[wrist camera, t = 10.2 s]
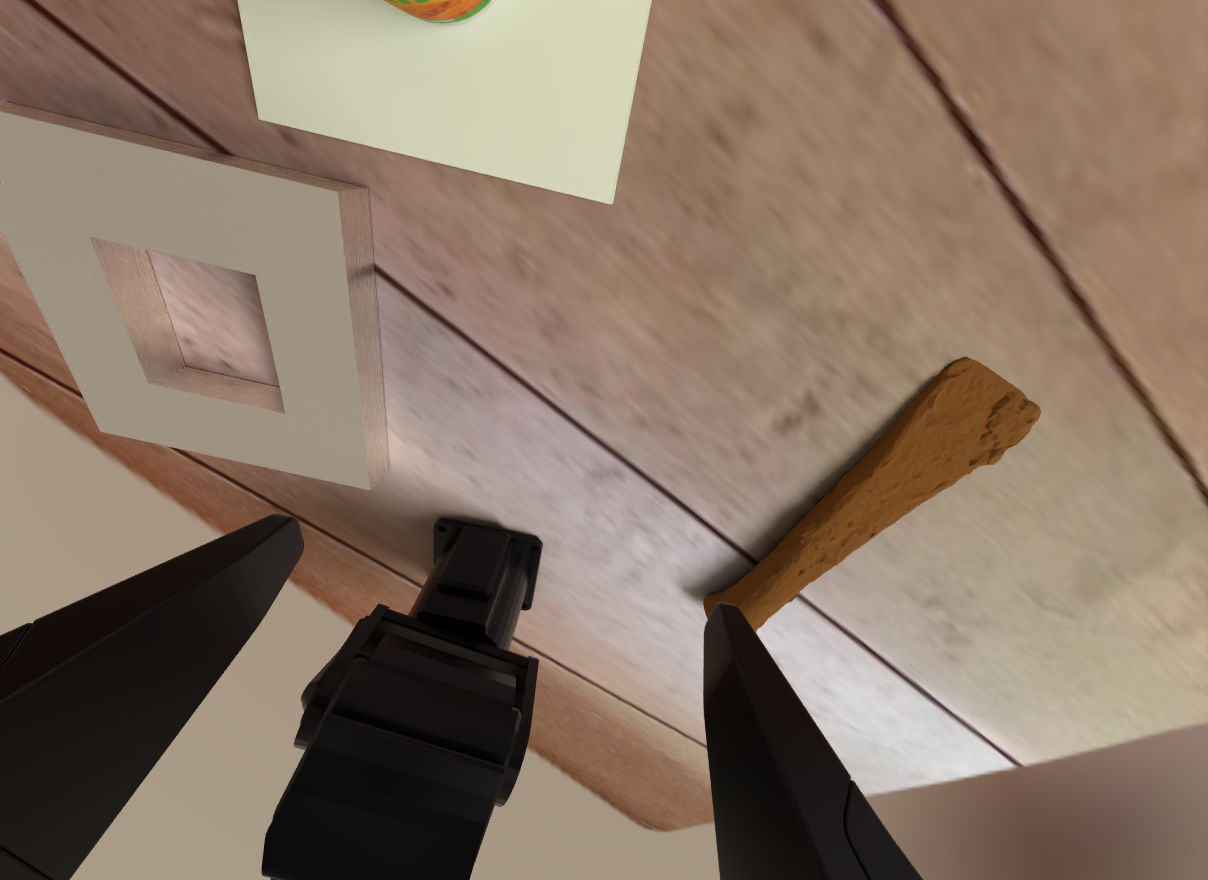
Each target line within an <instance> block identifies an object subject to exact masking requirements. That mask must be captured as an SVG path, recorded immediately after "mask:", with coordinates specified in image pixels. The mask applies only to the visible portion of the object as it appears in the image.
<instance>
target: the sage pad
mask: <svg viewBox="0 0 1208 880" xmlns="http://www.w3.org/2000/svg"><path fill="white" fill-rule="evenodd" d="M651 2H652V0H497V1H496V2H495V3H494V4H493V5H492V6H491V7H490V8H489V9H488V10H487V11H486V12H485V13H483V14H482V15H480V16H479V17H477V18H475V19H473V20H471V21H468V22H465V23H462V24H457V25H438V24H432V23H428V22H426V21H423V20H420V19H418V18H416V17H414V16H411V15H409V14H407V13H406V12H404V11H402V10H400V9H398V8H396V7H395V6H393V5H391V4H389V3H387V2H385V1H384V0H238V6H239V11H240V17H241V23H242V28H243V34H244V39H245V45H246V50H247V56H248V61H249V67H250V72H251V78H252V83H253V89H254V95H255V100H256V106H257V111H258V117H259V120H264V121H268V122H272V123H276V124H280V125H284V126H288V127H293V128H297V129H301V130H305V131H309V132H313V133H317V134H322V135H326V136H330V137H334V138H338V139H342V140H346V141H350V142H355V143H359V144H363V145H367V146H371V147H375V148H379V149H384V150H388V151H392V152H396V153H400V154H404V155H408V156H413V157H417V158H421V159H425V160H429V161H433V162H437V163H442V164H446V165H450V166H454V167H458V168H462V169H466V170H470V171H475V172H479V173H483V174H487V175H491V176H495V177H499V178H504V179H508V180H512V181H516V182H520V183H524V184H528V185H533V186H537V187H541V188H545V189H549V190H553V191H557V192H562V193H566V194H570V195H574V196H578V197H582V198H586V199H590V200H595V201H599V202H603V203H607V204H611V205H612V204H613V200H614V195H615V190H616V184H617V179H618V174H619V169H620V164H621V158H622V153H623V148H624V143H625V137H626V132H627V127H628V122H629V117H630V111H631V106H632V101H633V96H634V91H635V85H636V80H637V75H638V70H639V64H640V59H641V54H642V49H643V44H644V38H645V33H646V28H647V23H648V17H649V12H650V7H651Z"/></svg>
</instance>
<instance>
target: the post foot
mask: <svg viewBox="0 0 1208 880" xmlns="http://www.w3.org/2000/svg"><path fill="white" fill-rule="evenodd" d="M0 230H1V232H2V234H3V236H4V238H5V240H6V242H7V244H8V246H9V248H10V250H11V252H12V254H13V256H14V258H15V260H16V262H17V264H18V266H19V268H20V270H21V272H22V274H23V276H24V278H25V280H26V283H27V285H28V287H29V289H30V291H31V293H32V295H33V297H34V299H35V301H36V303H37V305H38V307H39V309H40V311H41V313H42V315H43V317H44V319H45V321H46V323H47V325H48V327H49V329H50V331H51V333H52V335H53V337H54V339H55V341H56V343H57V345H58V347H59V349H60V351H61V353H62V355H63V357H64V359H65V361H66V363H67V365H68V367H69V369H70V371H71V373H72V375H73V377H74V379H75V381H76V383H77V385H78V387H79V389H80V391H81V393H82V395H83V397H84V399H85V401H86V404H87V406H88V408H89V410H90V412H91V414H92V416H93V418H94V420H95V422H96V424H97V426H98V428H99V430H100V432H105V433H109V434H114V435H118V436H123V437H128V438H132V439H137V440H141V441H146V442H151V443H155V444H160V445H164V446H169V447H173V448H178V449H183V450H187V451H192V452H196V453H201V454H205V455H210V456H215V457H219V458H224V459H228V460H233V461H238V462H242V463H247V464H251V465H256V466H260V467H265V468H270V469H274V470H279V471H283V472H288V473H292V474H297V475H302V476H306V477H311V478H315V479H320V480H324V481H329V482H334V483H338V484H343V485H347V486H352V487H357V488H361V489H366V490H371V489H372V488H373V487H374V486H375V484H376V483H377V482H378V481H379V480H380V479H381V477H382V476H383V475H384V474H385V473H386V471H387V470H388V469H389V457H388V444H387V431H386V417H385V404H384V391H383V378H382V365H381V352H380V339H379V325H378V312H377V299H376V286H375V273H374V260H373V247H372V233H371V220H370V207H369V194H368V188H365V187H361V186H357V185H353V184H348V183H344V182H340V181H336V180H332V179H328V178H323V177H319V176H315V175H311V174H307V173H302V172H298V171H294V170H290V169H286V168H281V167H277V166H273V165H269V164H265V163H261V162H256V161H252V160H248V159H244V158H240V157H235V156H231V155H227V154H223V153H219V152H214V151H210V150H206V149H202V148H198V147H194V146H189V145H185V144H181V143H177V142H173V141H168V140H164V139H160V138H156V137H152V136H147V135H143V134H139V133H135V132H131V131H127V130H122V129H118V128H114V127H110V126H106V125H101V124H97V123H93V122H89V121H85V120H80V119H76V118H72V117H68V116H64V115H60V114H55V113H51V112H47V111H43V110H39V109H34V108H30V107H26V106H22V105H18V104H13V103H9V102H5V101H0ZM146 250H149V251H154V252H158V253H162V254H167V255H171V256H175V257H180V258H184V259H188V260H193V261H197V262H201V263H206V264H210V265H214V266H219V267H223V268H227V269H232V270H236V271H240V272H245V273H249V274H253V275H255V276H256V280H257V285H258V290H259V294H260V299H261V303H262V308H263V312H264V317H265V322H266V326H267V331H268V335H269V340H270V345H271V349H272V354H273V358H274V363H275V367H276V372H277V377H278V381H279V386H280V388H279V387H275V386H271V385H266V384H262V383H257V382H253V381H248V380H244V379H239V378H235V377H230V376H226V375H221V374H217V373H212V372H208V371H204V370H199V369H195V368H190V367H186V366H185V364H184V361H183V358H182V355H181V352H180V349H179V346H178V343H177V340H176V337H175V334H174V331H173V328H172V325H171V322H170V319H169V316H168V313H167V310H166V308H165V305H164V302H163V299H162V296H161V293H160V290H159V287H158V284H157V281H156V278H155V275H154V272H153V269H152V266H151V263H150V260H149V257H148V254H147V251H146Z"/></svg>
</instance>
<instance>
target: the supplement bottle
mask: <svg viewBox="0 0 1208 880" xmlns="http://www.w3.org/2000/svg"><path fill="white" fill-rule="evenodd" d="M384 1H385V2H387V3H389V4H391V5H393V6H395V7H396V8H398V9H400V10H402V11H404V12H406V13H407V14H409V15H411V16H414V17H416V18H418V19H420V20H423V21H426V22H428V23H432V24H438V25H457V24H462V23H465V22H468V21H471V20H473V19H475V18H477V17H479V16H480V15H482V14H483V13H485V12H486V11H487V10H488V9H489V8H490V7H491V6H492V5H493V4H494V3H495V2H496V1H497V0H384Z"/></svg>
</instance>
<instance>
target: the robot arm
mask: <svg viewBox="0 0 1208 880" xmlns="http://www.w3.org/2000/svg"><path fill="white" fill-rule="evenodd" d="M442 526H444V527H442ZM533 546H535V547H533ZM542 548H543V543H542V542H541V541H540V540H539V539H537V538H533V537H528V536H524V535H519V534H515V533H510V532H505V531H501V530H496V529H492V528H487V527H482V526H478V525H473V524H469V523H464V522H459V521H455V520H450V519H446V518H440V519H438V520H437V521H436V523H435V525H434V568H433V569H432V571H431V573H430V575H429V577H428V579H427V581H426V583H425V584H424V586H423V588H422V590H421V592H420V594H419V596H418V598H417V599H416V601H415V603H414V605H413V607H412V609H411V611H410V612H409V614H408V615H405V614H402V613H399V612H396V611H393V610H391V609H389V607H388V606H385V605H382V604H378V605H377V606H376V608H375V609H374V611H373V612H372V613H371V615H370V616H366V617H365V618H363V619H360V620H359V621H358V623H357V625H356V626H355V628H354V629H353V631H352V632H351V634H350V636H349V637H348V639H347V640H346V642H345V643H344V645H343V646H342V647H341V649H340V650H339V651H338V652H337V654H336V655H335V656H334V657H333V658H332V659H331V660H330V661H329V662H328V663H327V664H326V665H325V667H324V668H323V669H322V670H321V671H320V672H319V673H318V674H317V675H316V676H315V677H314V679H313V680H312V681H311V682H310V683H309V684H308V685H307V687H306V688H305V690H304V692H303V694H302V696H301V702H302V706H303V710H304V714H303V716H302V719H301V722H300V727H299V730H298V732H297V735H296V738H295V742H294V747H296V748H300V749H303V750H305V752H304V754H303V757H302V758H301V760H300V762H299V764H298V767H297V768H296V770H295V772H294V774H293V776H292V778H291V780H290V782H289V784H288V786H287V788H286V790H285V792H284V794H283V796H282V798H281V799H280V801H279V804H278V805H277V808H276V810H275V812H274V815H273V820H272V823H271V825H270V826H269V828H268V830H267V833H266V836H265V844H264V852H263V860H262V875H263V876H266V877H270V878H271V880H470V876H471V873H472V869H473V866H474V863H475V861H476V858H477V855H478V852H479V849H480V846H481V843H482V840H483V837H484V834H485V832H486V829H487V826H488V823H489V820H490V817H491V814H492V811H493V808H494V805H495V806H499V807H502V806H503V805H504V804H505V803H506V801H507V800H508V798H509V796H510V794H511V792H512V790H513V787H514V785H515V783H516V780H517V777H518V774H519V772H520V769H521V766H522V762H523V759H524V755H525V752H526V748H527V744H528V740H529V735H530V729H531V722H532V713H533V705H534V697H535V688H536V680H537V672H538V663H539V659H537V658H534V657H531V656H529V657H526V656H523V655H520V654H517V653H514V652H511V651H509V648H510V644H511V641H512V638H513V634H514V631H515V627H516V624H517V621H518V617H519V614H520V610H525V611H526V610H529V609H530V608H531V606H532V602H533V596H534V591H535V586H536V580H537V575H538V569H539V564H540V558H541V553H542ZM303 550H304V541H303V537H302V533H301V529H300V525H299V521H298V519H297V518H296V517H293V516H289V515H284V514H272V515H269V516H267V517H265V518H262V519H260V520H258V521H256V522H254V523H251V524H249V525H247V526H245V527H242V528H240V529H238V530H236V531H233V532H231V533H229V534H227V535H224V536H222V537H220V538H218V539H215V540H213V541H211V542H209V543H206V544H204V545H202V546H200V547H198V548H195V549H193V550H191V551H189V552H186V553H184V554H182V555H180V556H177V557H175V558H173V559H171V560H168V561H166V562H164V563H162V564H159V565H157V566H155V567H153V568H150V569H148V570H146V571H144V572H142V573H139V574H137V575H135V576H133V577H131V578H128V579H126V580H124V581H121V582H119V583H117V584H115V585H112V586H110V587H108V588H106V589H103V590H101V591H99V592H97V593H94V594H92V595H90V596H88V597H86V598H83V599H81V600H79V601H77V602H74V603H72V604H70V605H68V606H66V607H63V608H61V609H59V610H56V611H54V612H52V613H50V614H47V615H45V616H43V617H41V618H38V619H36V620H35V621H34V622H33V623H27V624H25V625H22V626H20V627H18V628H16V629H14V630H11V631H9V632H7V633H5V634H3V635H0V880H70V878H71V877H72V876H73V874H74V873H75V872H76V870H77V869H78V868H79V866H80V865H81V864H82V862H83V861H84V860H85V858H86V857H87V856H88V854H89V853H90V851H91V850H92V849H93V848H94V846H95V845H96V843H97V842H98V841H99V839H100V838H101V837H102V835H103V834H104V833H105V831H106V830H107V829H108V827H109V826H110V825H111V823H112V822H113V821H114V819H115V818H116V817H117V815H118V814H119V812H120V811H121V810H122V808H123V807H124V806H125V804H126V803H127V802H128V800H129V799H130V798H131V796H132V795H133V794H134V792H135V791H136V790H137V788H138V787H139V786H140V784H141V783H142V782H143V780H144V779H145V778H146V776H147V775H148V774H149V772H150V771H151V770H152V768H153V767H154V766H155V764H156V763H157V761H158V760H159V759H160V757H161V756H162V755H163V753H164V752H165V751H166V749H167V748H168V747H169V745H170V744H171V743H172V741H173V740H174V739H175V737H176V736H177V735H178V733H179V732H180V731H181V729H182V728H183V726H184V725H185V724H186V723H187V721H188V720H189V719H190V717H191V716H192V714H193V713H194V712H195V710H196V709H197V708H198V706H199V705H200V704H201V702H202V701H203V700H204V698H205V697H206V696H207V694H208V693H209V692H210V690H211V689H212V688H213V686H214V685H215V684H216V682H217V681H218V679H219V678H220V677H221V676H222V674H223V673H224V671H225V670H226V669H227V667H228V666H229V665H230V663H231V662H232V661H233V659H234V658H235V657H236V655H237V654H238V653H239V651H240V650H241V649H242V647H243V646H244V645H245V643H246V642H247V641H248V639H249V638H250V637H251V635H252V634H253V632H254V631H255V630H256V628H257V627H258V625H259V624H260V623H261V621H262V620H263V618H264V616H265V615H266V613H267V612H268V610H269V609H270V607H271V605H272V604H273V602H274V600H275V599H276V597H277V595H278V594H279V592H280V590H281V589H282V587H283V585H284V584H285V582H286V580H287V579H288V577H289V575H290V574H291V572H292V570H293V569H294V567H295V565H296V564H297V562H298V560H299V559H300V557H301V555H302V553H303ZM703 704H704V721H705V731H706V741H707V751H708V761H709V771H710V781H711V791H712V801H713V811H714V821H715V831H716V842H717V851H718V861H719V870H720V871H719V872H720V880H923V879H922V877H921V876H920V874H919V873H918V872H917V870H916V869H915V868H914V866H913V865H912V864H911V862H910V861H909V860H908V858H907V857H906V855H905V854H904V853H903V851H902V850H901V849H900V847H899V846H898V845H897V844H896V842H895V841H894V839H893V838H892V836H891V835H890V833H889V832H888V831H887V829H886V828H885V826H884V825H883V823H882V822H881V820H880V819H879V817H878V816H877V814H876V813H875V812H874V810H873V809H872V807H871V806H870V804H869V803H868V801H867V800H866V798H865V797H864V795H863V794H862V792H861V791H860V789H859V788H858V786H857V785H856V783H855V782H854V781H853V780H851V776H850V774H849V773H848V771H847V770H846V768H845V767H844V765H843V764H842V762H841V761H840V759H839V758H838V756H837V755H836V753H835V752H834V750H833V749H832V747H831V746H830V744H829V743H828V741H827V740H826V738H825V737H824V735H823V734H822V732H821V731H820V729H819V728H818V726H817V725H816V723H815V722H814V720H813V719H812V717H811V716H810V714H809V713H808V711H807V709H806V708H805V706H804V705H803V703H802V702H801V700H800V699H799V697H798V696H797V694H796V693H795V691H794V690H793V688H792V687H791V685H790V684H789V682H788V681H787V679H786V678H785V676H784V675H783V673H782V672H781V670H780V669H779V667H778V666H777V664H776V663H775V661H774V660H773V658H772V657H771V655H770V654H769V652H768V651H767V649H766V648H765V646H764V645H763V643H762V642H761V640H760V639H759V637H758V636H757V634H756V633H755V631H754V629H753V628H752V626H751V625H750V623H749V622H748V620H747V619H746V617H745V616H744V614H743V613H742V611H741V610H740V608H739V607H738V606H736V605H734V604H730V603H725V602H718V603H716V605H715V607H714V609H713V611H712V613H711V615H710V617H709V619H708V621H707V623H706V625H705V629H704V680H703Z"/></svg>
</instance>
